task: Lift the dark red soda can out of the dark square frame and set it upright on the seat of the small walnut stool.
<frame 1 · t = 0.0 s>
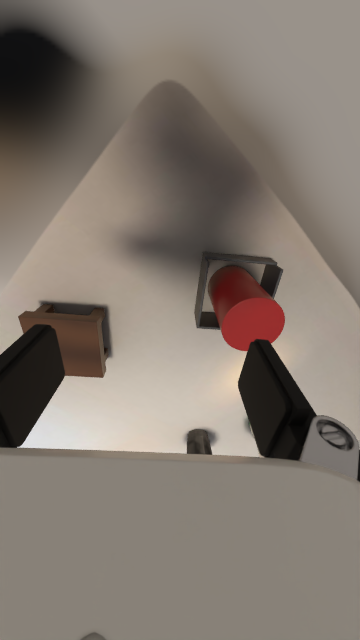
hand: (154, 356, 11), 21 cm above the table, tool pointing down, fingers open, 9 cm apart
dark square frame: (229, 287, 31), on the table
stool: (78, 330, 35), on the table
can: (239, 303, 27), in the dark square frame
beverage cup: (197, 434, 49), on the table
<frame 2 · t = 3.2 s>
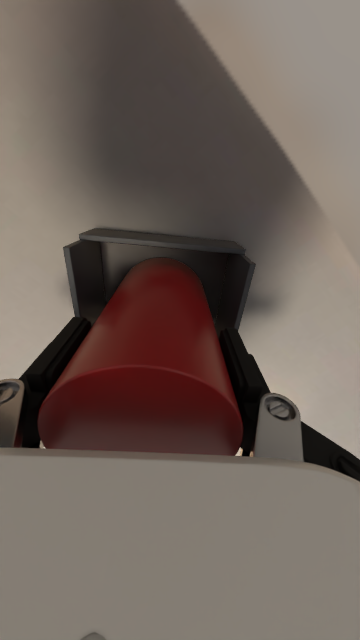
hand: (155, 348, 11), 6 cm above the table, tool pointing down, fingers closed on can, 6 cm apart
dark square frame: (162, 299, 16), on the table
can: (156, 341, 12), in the dark square frame, touching gripper
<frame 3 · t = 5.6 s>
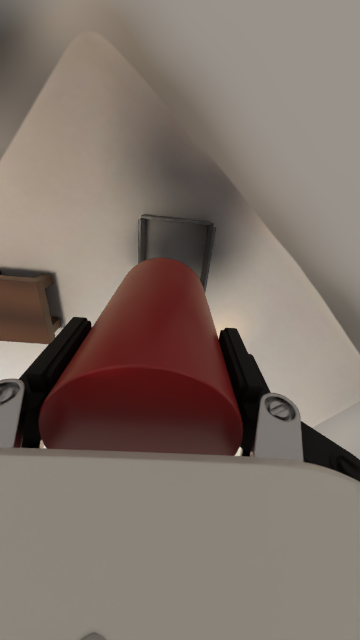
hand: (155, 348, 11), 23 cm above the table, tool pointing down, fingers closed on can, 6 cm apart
dark square frame: (174, 252, 32), on the table
stool: (28, 299, 35), on the table
can: (156, 341, 12), point 23 cm above the table, touching gripper
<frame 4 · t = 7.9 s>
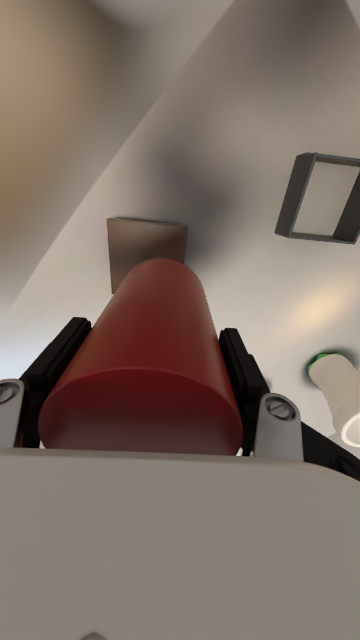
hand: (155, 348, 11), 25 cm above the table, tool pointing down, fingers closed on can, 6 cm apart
dark square frame: (316, 200, 30), on the table
stool: (150, 254, 34), on the table
cup: (324, 364, 45), on the table
can: (156, 342, 12), point 25 cm above the table, touching gripper
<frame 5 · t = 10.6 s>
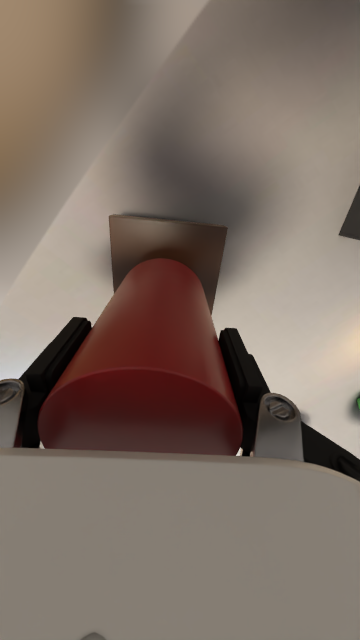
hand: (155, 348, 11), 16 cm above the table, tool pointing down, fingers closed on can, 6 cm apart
stool: (167, 264, 25), on the table
can: (156, 342, 12), point 15 cm above the table, touching gripper
when the fingers open (11 cm above the table, at t = 12.5 s): can stays where it is, resting on stool.
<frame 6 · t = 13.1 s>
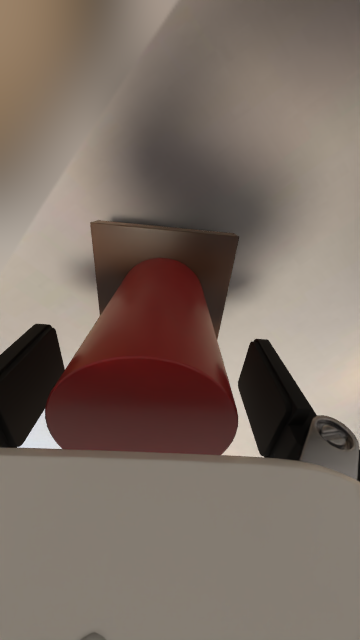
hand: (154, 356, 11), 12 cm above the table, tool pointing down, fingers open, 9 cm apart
stool: (165, 277, 21), on the table
can: (156, 338, 12), on the stool, point 10 cm above the table
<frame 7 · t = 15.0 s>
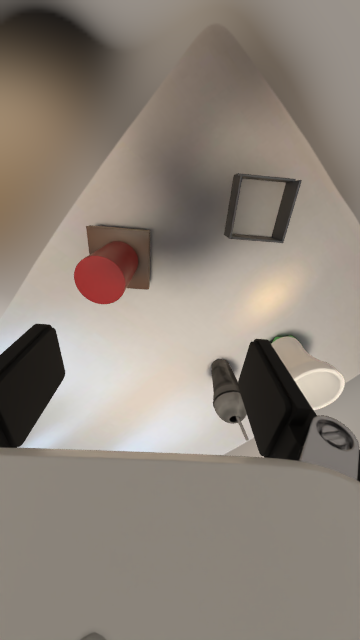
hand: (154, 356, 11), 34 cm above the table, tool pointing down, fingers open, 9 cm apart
dark square frame: (254, 209, 38), on the table
stool: (125, 254, 41), on the table
cup: (281, 346, 53), on the table
can: (111, 269, 32), on the stool, point 10 cm above the table
beverage cup: (220, 365, 55), on the table
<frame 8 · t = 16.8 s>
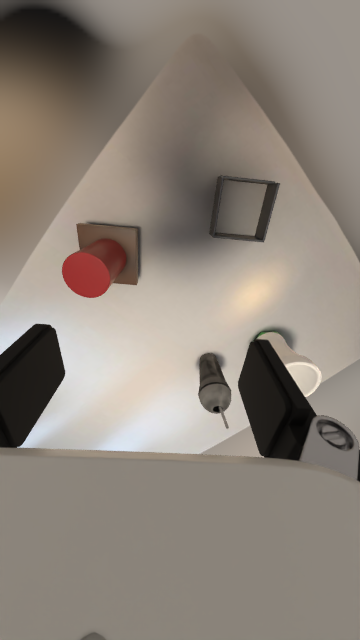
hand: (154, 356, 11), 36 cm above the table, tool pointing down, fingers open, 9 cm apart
dark square frame: (238, 209, 40), on the table
stool: (115, 250, 43), on the table
cup: (266, 341, 55), on the table
can: (99, 265, 34), on the stool, point 10 cm above the table
beverage cup: (207, 359, 58), on the table
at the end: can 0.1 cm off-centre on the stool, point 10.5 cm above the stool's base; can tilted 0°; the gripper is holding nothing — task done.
